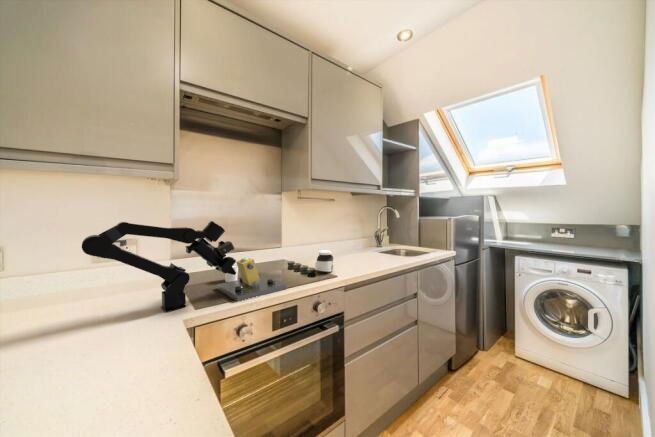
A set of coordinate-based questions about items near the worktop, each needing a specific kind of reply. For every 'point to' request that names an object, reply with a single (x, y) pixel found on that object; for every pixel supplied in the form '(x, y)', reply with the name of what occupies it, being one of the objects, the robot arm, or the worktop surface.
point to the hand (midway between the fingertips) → (235, 273)
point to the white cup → (232, 277)
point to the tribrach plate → (250, 288)
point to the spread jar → (324, 262)
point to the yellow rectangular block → (248, 270)
